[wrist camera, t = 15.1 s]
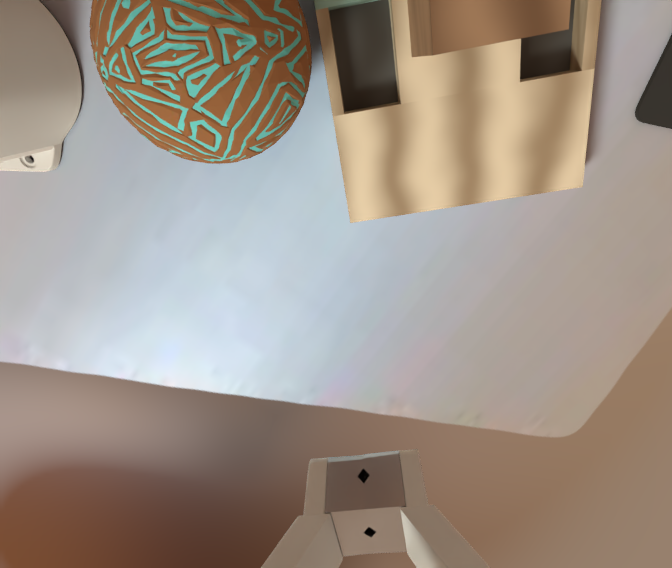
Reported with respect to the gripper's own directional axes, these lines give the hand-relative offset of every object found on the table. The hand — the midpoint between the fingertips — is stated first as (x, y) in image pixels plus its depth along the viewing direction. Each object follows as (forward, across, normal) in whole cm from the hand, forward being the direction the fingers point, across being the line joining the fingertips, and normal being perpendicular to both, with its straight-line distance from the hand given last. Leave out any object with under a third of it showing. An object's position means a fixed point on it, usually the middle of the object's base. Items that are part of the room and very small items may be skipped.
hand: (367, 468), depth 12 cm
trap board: (+34, -10, -8) cm, 36 cm away
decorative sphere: (+34, +9, -12) cm, 37 cm away
